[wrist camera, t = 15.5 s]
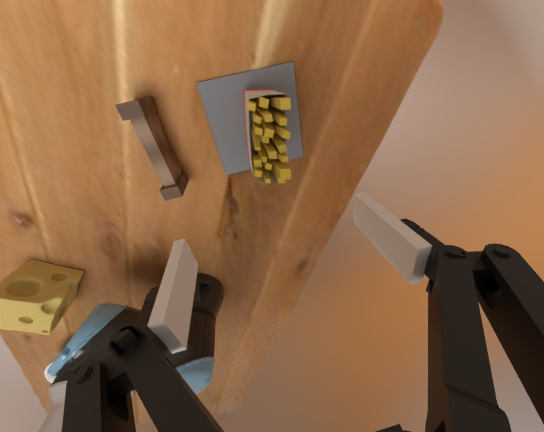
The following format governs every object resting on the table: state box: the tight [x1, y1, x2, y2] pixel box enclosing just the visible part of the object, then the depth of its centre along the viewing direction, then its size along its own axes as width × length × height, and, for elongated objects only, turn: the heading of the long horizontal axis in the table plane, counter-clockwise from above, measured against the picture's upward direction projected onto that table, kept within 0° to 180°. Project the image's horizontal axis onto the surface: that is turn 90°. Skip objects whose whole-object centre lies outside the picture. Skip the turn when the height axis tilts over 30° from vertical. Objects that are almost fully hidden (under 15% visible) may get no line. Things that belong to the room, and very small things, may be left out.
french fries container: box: [243, 89, 291, 185], centre depth 32 cm, size 5×11×18 cm, turn 0°
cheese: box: [0, 259, 84, 335], centre depth 46 cm, size 10×11×10 cm
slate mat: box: [197, 62, 303, 175], centre depth 40 cm, size 16×16×1 cm
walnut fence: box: [115, 97, 188, 201], centre depth 36 cm, size 15×3×7 cm, turn 10°
